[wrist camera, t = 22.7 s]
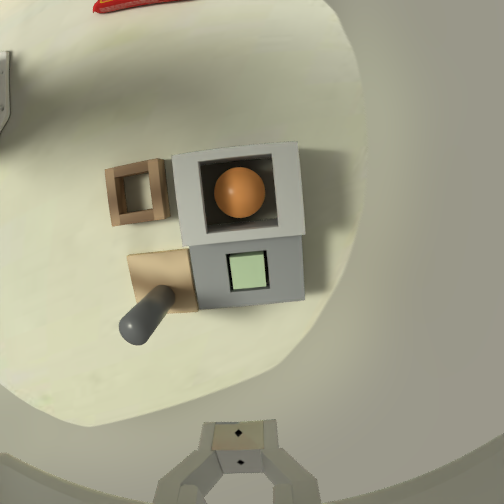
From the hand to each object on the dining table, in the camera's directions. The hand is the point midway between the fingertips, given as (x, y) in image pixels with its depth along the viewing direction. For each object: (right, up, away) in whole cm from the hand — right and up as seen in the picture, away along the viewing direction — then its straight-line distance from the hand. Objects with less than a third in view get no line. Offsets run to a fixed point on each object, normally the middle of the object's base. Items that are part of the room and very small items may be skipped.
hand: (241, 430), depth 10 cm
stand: (-13, +15, +22) cm, 30 cm away
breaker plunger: (-1, +14, +22) cm, 26 cm away
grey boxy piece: (0, +10, +23) cm, 25 cm away
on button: (0, +6, +24) cm, 25 cm away
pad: (-11, +4, +25) cm, 27 cm away
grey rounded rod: (-11, +2, +25) cm, 27 cm away
